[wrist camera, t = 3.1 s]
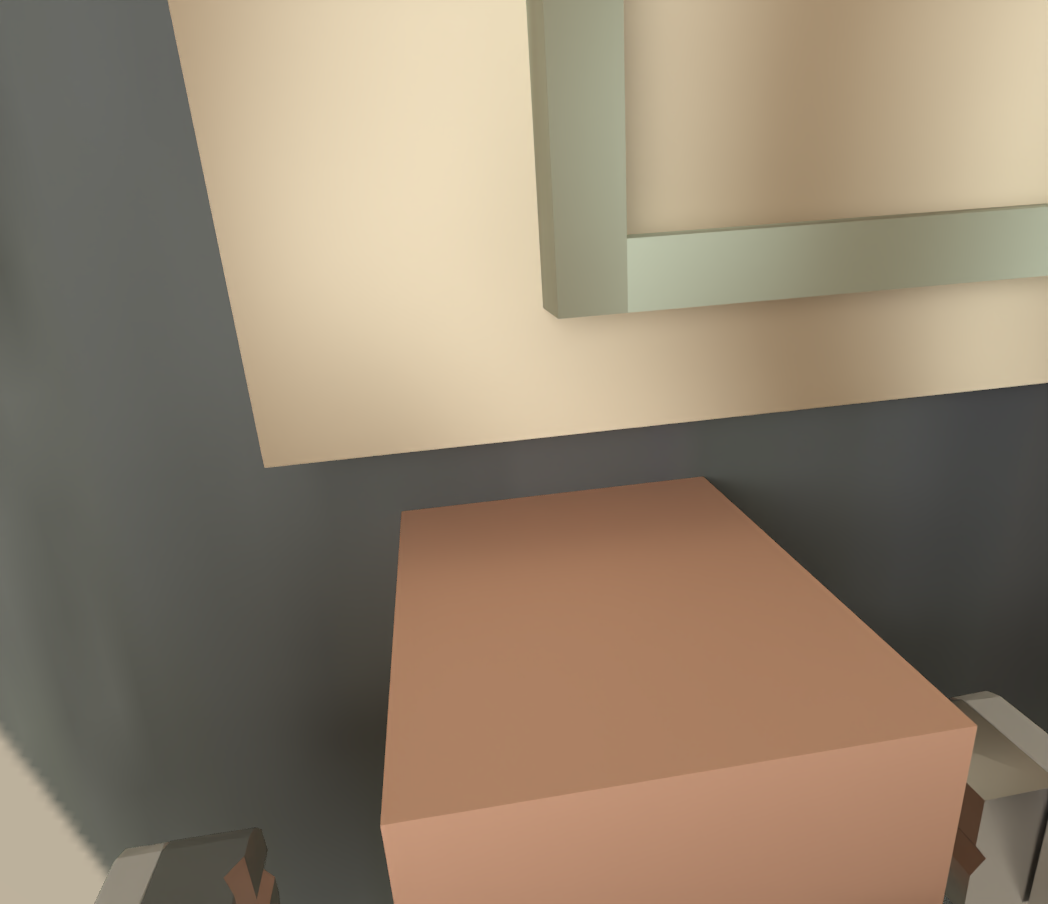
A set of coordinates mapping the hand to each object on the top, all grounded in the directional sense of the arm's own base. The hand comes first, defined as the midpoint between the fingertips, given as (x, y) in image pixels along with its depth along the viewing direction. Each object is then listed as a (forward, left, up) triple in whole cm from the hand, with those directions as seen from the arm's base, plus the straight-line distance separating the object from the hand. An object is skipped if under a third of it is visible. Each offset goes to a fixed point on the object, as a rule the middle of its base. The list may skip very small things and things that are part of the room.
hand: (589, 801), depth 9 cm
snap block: (0, 0, -3) cm, 3 cm away
